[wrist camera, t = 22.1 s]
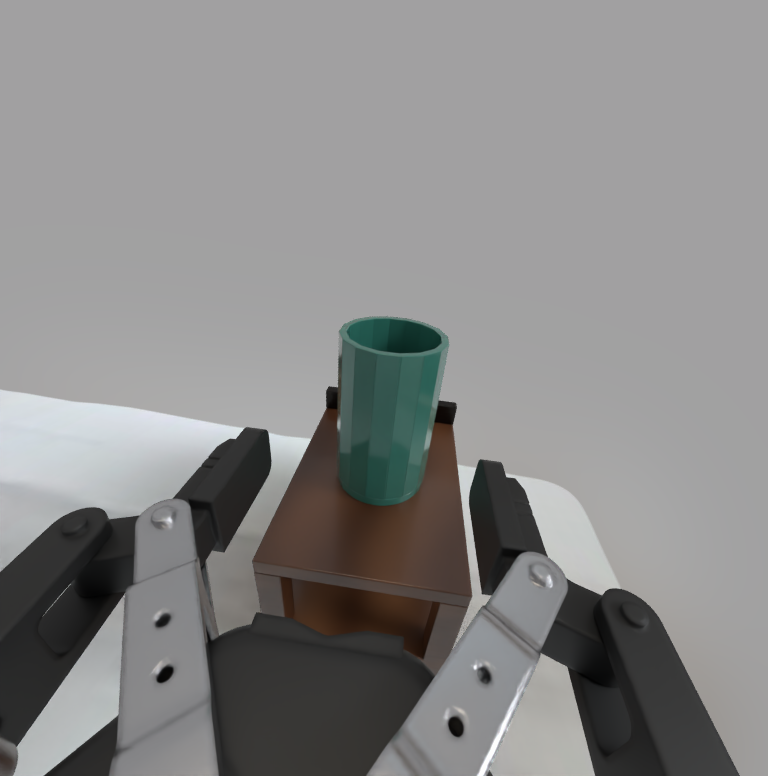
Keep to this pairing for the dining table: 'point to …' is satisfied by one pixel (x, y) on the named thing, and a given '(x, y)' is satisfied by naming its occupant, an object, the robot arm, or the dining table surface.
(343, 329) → the tumbler
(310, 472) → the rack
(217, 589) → the dining table surface
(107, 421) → the dining table surface
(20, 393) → the dining table surface
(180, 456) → the dining table surface
